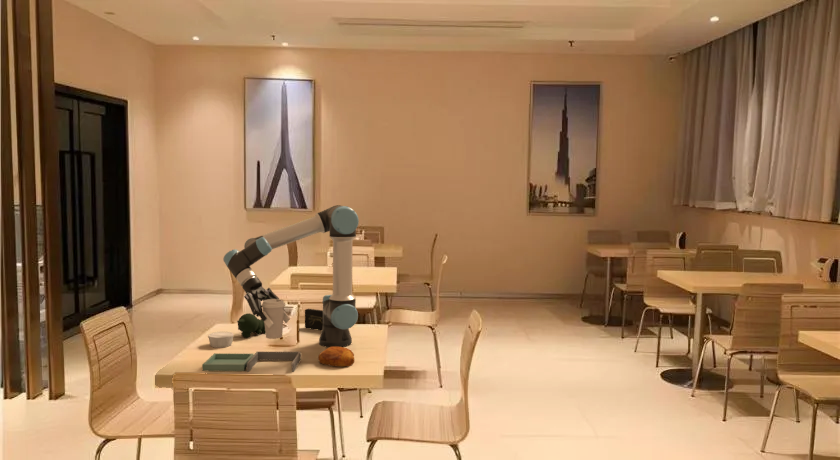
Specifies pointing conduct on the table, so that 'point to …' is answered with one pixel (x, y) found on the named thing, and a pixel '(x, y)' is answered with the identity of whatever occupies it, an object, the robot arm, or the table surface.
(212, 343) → the ramekin
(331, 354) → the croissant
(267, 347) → the table surface
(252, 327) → the toy figurine
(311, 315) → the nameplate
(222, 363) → the tray
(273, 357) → the dock
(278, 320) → the coffee cup
